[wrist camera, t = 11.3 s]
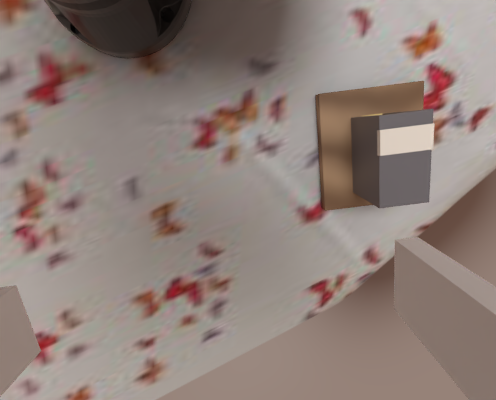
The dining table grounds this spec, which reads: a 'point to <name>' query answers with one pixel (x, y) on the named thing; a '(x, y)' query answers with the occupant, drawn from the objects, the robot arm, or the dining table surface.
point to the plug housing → (392, 157)
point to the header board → (339, 133)
